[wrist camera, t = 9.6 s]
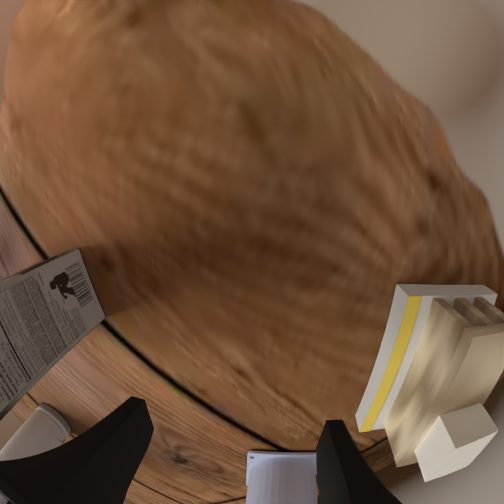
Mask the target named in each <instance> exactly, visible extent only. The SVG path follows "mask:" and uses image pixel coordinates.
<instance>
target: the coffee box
mask: <svg viewBox="0 0 504 504" xmlns="http://www.w3.org/2000/svg"><path fill="white" fill-rule="evenodd" d="M104 318H105V315H104V312H103V310H102V308H101V306H100V303H99V301H98V299H97V296H96V294H95V291H94V289H93V286H92V284H91V281H90V279H89V276H88V273H87V271H86V268H85V265H84V262H83V260H82V256H81V254H80V251H79V249H78V248H75V249H72V250H69V251H67V252H64V253H62V254H59V255H57V256H54V257H52V258H49V259H47V260H45V261H42V262H40V263H37V264H35V265H33V266H30V267H28V268H26V269H24V270H22V271H20V272H17V273H15V274H13V275H11V276H9V277H7V278H5V279H3V280H1V281H0V421H1V420H2V418H3V417H4V416H5V415H6V414H7V413H8V412H9V411H10V410H11V409H12V408H13V407H14V406H15V404H16V403H17V402H18V401H19V400H20V399H21V398H22V397H23V396H24V395H25V394H26V393H27V392H28V391H29V390H30V389H31V388H32V387H33V386H34V385H35V384H36V383H37V382H38V381H39V380H40V379H41V378H42V377H43V376H44V375H45V374H46V373H47V372H48V371H49V370H50V369H51V368H52V367H53V366H54V365H55V364H56V363H57V362H58V361H59V360H60V359H61V358H62V357H63V356H64V355H65V354H66V353H68V352H69V351H70V350H71V349H72V348H73V347H74V346H75V345H76V344H77V343H78V342H80V341H81V340H82V339H83V338H84V337H85V336H86V335H87V334H88V333H89V332H90V331H91V330H92V329H94V328H95V327H96V326H97V325H98V324H99V323H100V322H101V321H102V320H103V319H104Z"/></svg>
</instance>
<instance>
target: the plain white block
mask: <svg viewBox="0 0 504 504" xmlns="http://www.w3.org/2000/svg"><path fill="white" fill-rule="evenodd" d="M497 432H498V429H497V427H496V426H495V424H494V422H493V421H492V419H491V418H490V416H489V414H488V413H487V412H486V410H485V408H484V407H483V405H482V404H481V403H478V404H475V405H472V406H469V407H466V408H463V409H459V410H456V411H453V412H449V413H445V414H441V415H439V416H438V418H437V419H436V421H435V422H434V424H433V425H432V427H431V428H430V430H429V431H428V433H427V434H426V436H425V437H424V438H423V440H422V441H421V442H420V444H419V445H418V447H417V448H416V449H415V450H414V452H415V455H416V457H417V460H418V463H419V466H420V469H421V472H422V475H423V478H424V481H425V482H426V481H430V480H432V479H435V478H438V477H441V476H444V475H446V474H449V473H452V472H454V471H456V470H459V469H461V468H464V467H466V466H468V465H469V464H470V463H471V462H472V461H473V460H474V459H475V458H476V457H477V455H478V454H479V453H480V452H481V451H482V450H483V449H484V447H485V446H486V445H487V444H488V442H489V441H490V440H491V439H492V438H493V437H494V435H495V434H496V433H497Z"/></svg>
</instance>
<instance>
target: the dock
mask: <svg viewBox="0 0 504 504" xmlns="http://www.w3.org/2000/svg"><path fill="white" fill-rule="evenodd" d="M456 297H464V298H465V299H466V300H467V301H469V302H470V303H471V304H472V305H473V303H474V299H475V297H483V298H484V299H486V300H487V301H488V302H490V303H491V304H492V305H494V304H495V301H496V298H497V293H495V292H494V291H492V290H491V289H489V288H488V287H486V286H485V285H429V284H396V289H395V293H394V298H393V302H392V306H391V310H390V314H389V318H388V322H387V326H386V329H385V333H384V336H383V340H382V343H381V346H380V350H379V353H378V356H377V359H376V362H375V365H374V368H373V371H372V374H371V377H370V379H369V382H368V385H367V388H366V390H365V393H364V395H363V398H362V401H361V403H360V405H359V408H358V410H357V413H356V415H355V416H356V420H357V425H358V429H359V432H366V431H370V430H376V429H383V428H385V427H384V424H383V423H384V421H385V419H386V417H387V415H388V413H389V411H390V409H391V407H392V405H393V403H394V401H395V399H396V397H397V395H398V393H399V391H400V389H401V386H402V384H403V382H404V380H405V377H406V375H407V372H408V370H409V368H410V365H411V363H412V360H413V358H414V355H415V352H416V350H417V347H418V344H419V341H420V338H421V335H422V332H423V329H424V326H425V323H426V320H427V317H428V313H429V310H430V306H431V303H432V299H433V298H443V299H444V300H445V301H446V302H447V303H448V304H449V305H451V306H452V307H453V305H454V301H455V298H456Z"/></svg>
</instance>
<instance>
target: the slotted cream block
mask: <svg viewBox="0 0 504 504" xmlns="http://www.w3.org/2000/svg"><path fill="white" fill-rule="evenodd" d="M503 369H504V313H503V312H501V311H500V310H499V309H498V308H496V307H495V306H494V305H492V304H491V303H490V302H488V301H487V300H486V299H484V298H483V297H475V299H474V303H473V305H472V304H471V303H470V302H469V301H467V300H466V299H465V298H464V297H456V298H455V301H454V305H453V307H452V306H451V305H449V304H448V303H447V302H446V301H445V300H444V299H443V298H433V299H432V303H431V306H430V310H429V313H428V317H427V320H426V323H425V326H424V329H423V332H422V335H421V338H420V341H419V344H418V347H417V350H416V352H415V355H414V358H413V360H412V363H411V365H410V368H409V370H408V372H407V375H406V377H405V380H404V382H403V384H402V386H401V389H400V391H399V393H398V395H397V397H396V399H395V401H394V403H393V405H392V407H391V409H390V411H389V413H388V415H387V417H386V419H385V421H384V423H383V424H384V427H385V430H386V433H387V436H388V439H389V443H390V446H391V449H392V452H393V456H394V459H395V463H396V466H397V467H400V466H405V465H409V464H413V463H417V462H418V460H417V457H416V455H415V452H414V450H415V449H416V448H417V447H418V445H419V444H420V442H421V441H422V440H423V438H424V437H425V436H426V434H427V433H428V431H429V430H430V428H431V427H432V425H433V424H434V422H435V421H436V419H437V418H438V416H439V415H441V414H445V413H449V412H453V411H456V410H459V409H463V408H466V407H469V406H472V405H475V404H478V403H481V404H482V405H483V404H484V403H485V401H486V399H487V398H488V396H489V394H490V392H491V391H492V389H493V388H494V386H495V384H496V382H497V381H498V379H499V377H500V375H501V373H502V371H503Z"/></svg>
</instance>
